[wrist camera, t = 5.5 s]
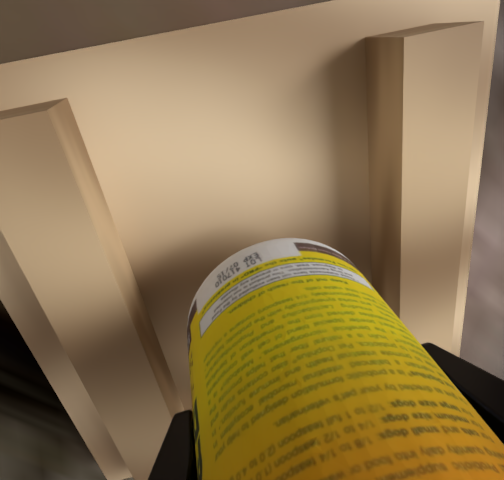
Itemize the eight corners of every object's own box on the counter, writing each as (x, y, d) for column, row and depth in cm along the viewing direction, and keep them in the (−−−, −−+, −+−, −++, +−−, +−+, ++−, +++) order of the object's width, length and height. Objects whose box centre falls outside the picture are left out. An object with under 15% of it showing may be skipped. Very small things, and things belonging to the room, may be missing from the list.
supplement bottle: (147, 291, 11) (76, 1291, 2) (321, 194, 11) (1038, 910, 2) (239, 401, 14) (373, 1061, 5) (381, 326, 14) (798, 883, 5)
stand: (436, 357, 20) (487, 416, 17) (113, 451, 18) (102, 535, 15) (466, -25, 12) (570, -46, 9) (-89, 81, 10) (-193, 100, 7)
